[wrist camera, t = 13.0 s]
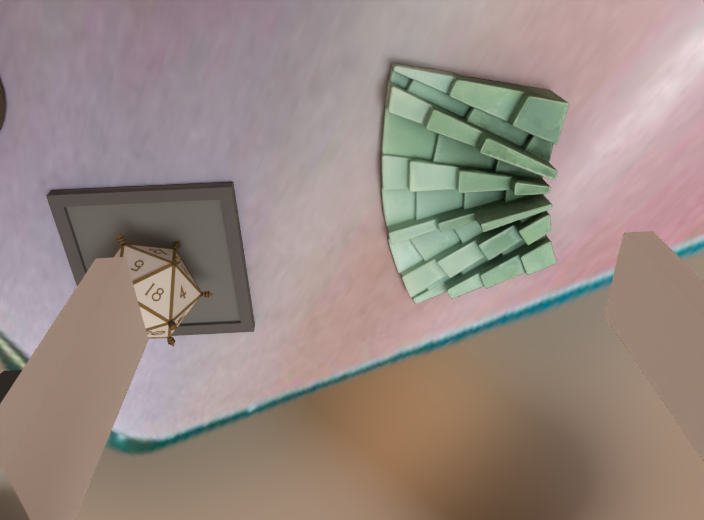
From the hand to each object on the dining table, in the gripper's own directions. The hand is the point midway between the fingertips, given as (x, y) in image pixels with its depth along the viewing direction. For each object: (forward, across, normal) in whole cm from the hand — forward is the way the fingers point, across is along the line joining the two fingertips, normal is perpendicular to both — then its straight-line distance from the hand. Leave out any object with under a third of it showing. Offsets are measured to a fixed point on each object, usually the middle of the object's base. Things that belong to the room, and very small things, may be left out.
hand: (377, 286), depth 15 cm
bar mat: (+29, -16, -16) cm, 36 cm away
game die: (+28, -16, -16) cm, 36 cm away
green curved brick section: (+29, +9, -9) cm, 32 cm away
